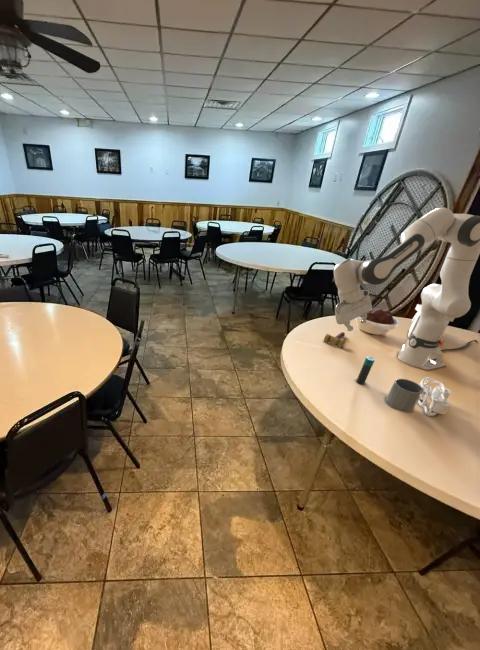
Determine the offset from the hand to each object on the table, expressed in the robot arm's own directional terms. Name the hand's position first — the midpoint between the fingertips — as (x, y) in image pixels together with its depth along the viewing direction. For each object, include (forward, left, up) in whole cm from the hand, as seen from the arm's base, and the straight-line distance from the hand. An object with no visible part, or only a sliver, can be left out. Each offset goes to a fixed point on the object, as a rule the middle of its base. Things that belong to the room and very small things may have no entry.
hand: (357, 327), depth 141 cm
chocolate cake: (-49, -41, -22) cm, 68 cm away
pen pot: (-8, +29, -22) cm, 37 cm away
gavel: (-18, -30, -22) cm, 42 cm away
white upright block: (-81, -34, -22) cm, 91 cm away
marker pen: (-2, +12, -22) cm, 25 cm away
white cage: (-22, +30, -22) cm, 43 cm away
